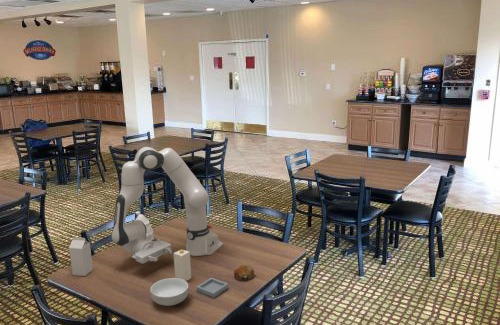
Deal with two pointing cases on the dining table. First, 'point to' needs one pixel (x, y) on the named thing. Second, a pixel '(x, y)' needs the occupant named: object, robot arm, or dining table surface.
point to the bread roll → (243, 272)
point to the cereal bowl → (169, 291)
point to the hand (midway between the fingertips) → (164, 256)
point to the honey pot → (149, 230)
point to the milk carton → (80, 257)
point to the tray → (212, 287)
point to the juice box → (182, 265)
